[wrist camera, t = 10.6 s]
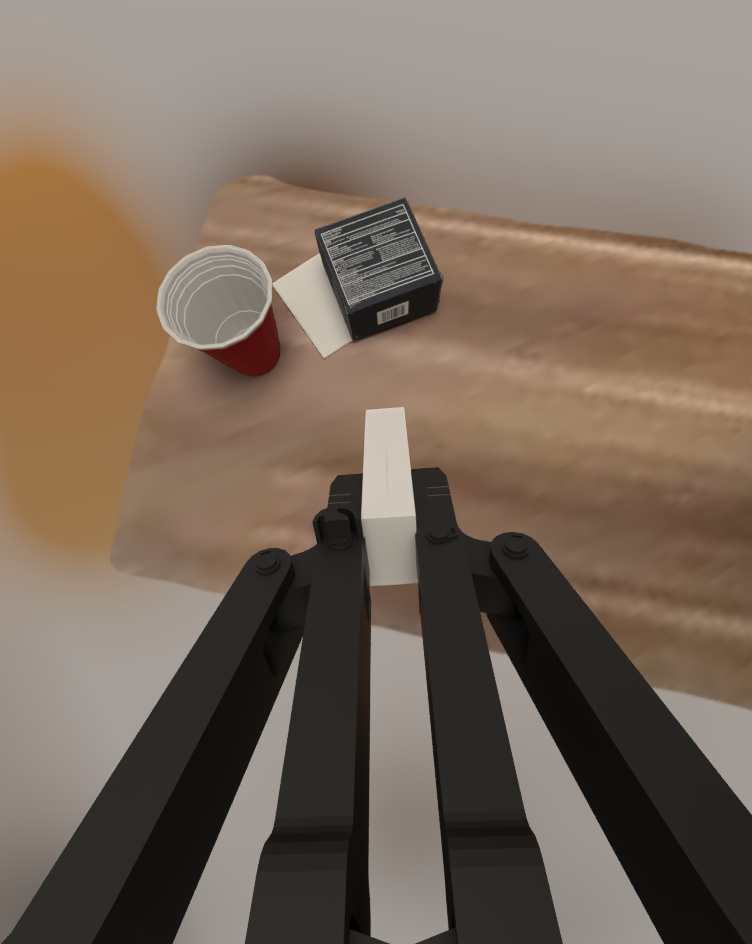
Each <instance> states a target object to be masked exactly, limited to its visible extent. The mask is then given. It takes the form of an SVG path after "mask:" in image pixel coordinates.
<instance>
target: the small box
mask: <svg viewBox="0 0 752 944" xmlns="http://www.w3.org/2000/svg"><path fill="white" fill-rule="evenodd" d="M315 236H316V240H317V244H318V248H319V252H320V256H321V260H322V263H323V266H324V269H325V272H326V274H327V276H328V279H329V282H330V284H331V287H332V290H333V292H334V295H335V297H336V300H337V302H338V305H339V307H340V310H341V313H342V315H343V318H344V320H345V323H346V325H347V328H348V330H349V333H350V336H351V339H352V341H355V340H357V339H360V338H362V337H365V336H368V335H370V334H373V333H376V332H378V331H381V330H384V329H387V328H389V327H392V326H395V325H397V324H400V323H403V322H406V321H408V320H411V319H414V318H417V317H419V316H422V315H425V314H427V313H430V312H433V311H436V310H437V308H438V304H439V301H440V300H439V298H440V292H441V287H442V282H443V276H442V275H441V273H440V272H439V270H438V268H437V266H436V264H435V261H434V259H433V257H432V255H431V252H430V250H429V248H428V245H427V243H426V241H425V239H424V237H423V235H422V232H421V230H420V228H419V226H418V223H417V221H416V219H415V217H414V215H413V213H412V210H411V208H410V205H409V202H408V200H407V198H402V199H399V200H396V201H393V202H391V203H388V204H385V205H382V206H379V207H377V208H374V209H371V210H368V211H366V212H363V213H360V214H357V215H354V216H352V217H349V218H346V219H343V220H340V221H338V222H335V223H332V224H329V225H326V226H324V227H321V228H318V229H315Z"/></svg>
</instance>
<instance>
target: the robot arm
mask: <svg viewBox="0 0 752 944" xmlns="http://www.w3.org/2000/svg"><path fill="white" fill-rule="evenodd" d="M313 527H314V531H315V536H316V540H317V544H316V545H315V546H314V547H312V548H311V549H309V550H307V551H304V552H302V553H298V554H295V555H292V556H290V554H289V553H287V552H286V551H285V550H282V549H279V548H268V549H265V550H262V551H259V552H258V553H256V554H254V555H253V556H252V557H251V558H250V559H249V560H248V561H247V562H246V564H245V565H244V567H243V568H242V570H241V572H240V573H239V575H238V576H237V578H236V580H235V581H234V583H233V584H232V586H231V587H230V589H229V591H228V592H227V594H226V595H225V597H224V598H223V600H222V602H221V603H220V605H219V606H218V608H217V610H216V611H215V613H214V614H213V616H212V617H211V619H210V620H209V622H208V624H207V625H206V627H205V628H204V630H203V632H202V633H201V635H200V636H199V638H198V639H197V641H196V643H195V644H194V646H193V647H192V649H191V650H190V652H189V654H188V655H187V657H186V658H185V660H184V662H183V663H182V665H181V666H180V668H179V669H178V671H177V673H176V674H175V676H174V677H173V679H172V680H171V682H170V683H169V685H168V687H167V688H166V690H165V692H164V693H163V694H162V696H161V698H160V699H159V701H158V702H157V704H156V706H155V707H154V709H153V710H152V712H151V713H150V715H149V717H148V718H147V720H146V721H145V723H144V724H143V726H142V728H141V729H140V731H139V732H138V734H137V735H136V737H135V739H134V740H133V742H132V743H131V745H130V747H129V748H128V750H127V751H126V753H125V754H124V756H123V758H122V759H121V761H120V762H119V764H118V765H117V767H116V769H115V770H114V772H113V773H112V775H111V777H110V778H109V780H108V781H107V783H106V784H105V786H104V788H103V789H102V791H101V792H100V794H99V795H98V797H97V798H96V800H95V802H94V803H93V805H92V806H91V808H90V810H89V811H88V813H87V814H86V816H85V817H84V819H83V821H82V822H81V824H80V825H79V827H78V828H77V830H76V832H75V833H74V835H73V836H72V838H71V839H70V841H69V843H68V844H67V846H66V848H65V849H64V851H63V852H62V854H61V855H60V857H59V858H58V860H57V861H56V863H55V865H54V866H53V868H52V870H51V871H50V873H49V874H48V876H47V877H46V879H45V880H44V882H43V884H42V885H41V887H40V888H39V890H38V891H37V893H36V895H35V896H34V898H33V899H32V901H31V902H30V904H29V906H28V907H27V909H26V910H25V912H24V913H23V915H22V917H21V918H20V920H19V922H18V923H17V924H16V926H15V928H14V929H13V931H12V933H11V934H10V935H9V936H8V937H7V938H6V939H5V940H4V941H3V942H2V943H1V944H173V941H174V939H175V937H176V934H177V932H178V929H179V927H180V925H181V922H182V920H183V918H184V915H185V913H186V910H187V908H188V906H189V904H190V901H191V899H192V896H193V894H194V892H195V889H196V887H197V885H198V882H199V880H200V878H201V875H202V873H203V871H204V868H205V866H206V863H207V861H208V859H209V856H210V854H211V852H212V849H213V847H214V845H215V842H216V840H217V838H218V835H219V833H220V830H221V828H222V825H223V823H224V821H225V819H226V816H227V814H228V811H229V809H230V807H231V804H232V802H233V800H234V797H235V795H236V793H237V790H238V788H239V786H240V783H241V781H242V779H243V776H244V774H245V771H246V769H247V767H248V764H249V762H250V759H251V757H252V755H253V752H254V750H255V748H256V745H257V743H258V740H259V738H260V736H261V734H262V731H263V729H264V727H265V724H266V722H267V720H268V717H269V715H270V712H271V710H272V708H273V705H274V703H275V701H276V698H277V696H278V694H279V691H280V689H281V686H282V684H283V682H284V679H285V677H286V675H287V672H288V670H289V668H290V665H291V663H292V660H293V658H294V656H295V653H296V651H297V649H298V646H299V644H300V642H301V639H302V637H303V640H302V647H301V653H300V660H299V666H298V673H297V679H296V686H295V692H294V699H293V705H292V712H291V719H290V725H289V732H288V738H287V745H286V751H285V758H284V765H283V771H282V778H281V784H280V791H279V797H278V805H277V810H276V817H275V822H274V827H273V830H272V833H271V835H270V836H269V838H268V839H267V841H266V842H265V844H264V846H263V849H262V852H261V855H260V860H259V864H258V869H257V874H256V881H255V886H254V892H253V899H252V904H251V910H250V916H249V922H248V928H247V934H246V940H245V944H389V943H386V942H383V941H381V940H378V939H375V938H373V937H371V934H370V933H371V929H370V928H371V923H370V922H371V919H370V918H371V917H370V895H369V879H368V878H369V877H368V855H369V852H368V851H369V846H368V845H369V758H370V656H371V655H370V653H371V652H370V651H371V649H370V648H371V596H370V586H378V585H395V584H413V583H418V589H419V610H420V615H421V626H422V636H423V646H424V658H425V669H426V680H427V691H428V701H429V712H430V723H431V734H432V745H433V756H434V766H435V777H436V788H437V799H438V810H439V821H440V831H441V842H442V853H443V864H444V874H445V875H444V876H445V887H446V888H445V889H446V903H447V915H448V927H449V930H448V931H445V932H443V933H440V934H438V935H436V936H433V937H431V938H428V939H426V940H424V941H421V942H419V943H416V944H563V943H562V938H561V934H560V930H559V926H558V922H557V917H556V913H555V909H554V904H553V900H552V896H551V892H550V887H549V883H548V879H547V875H546V870H545V866H544V863H543V859H542V855H541V851H540V848H539V845H538V842H537V839H536V837H535V834H534V833H533V831H532V830H531V828H530V827H529V824H528V821H527V818H526V814H525V810H524V806H523V801H522V797H521V792H520V788H519V783H518V779H517V775H516V770H515V766H514V761H513V757H512V752H511V748H510V743H509V739H508V735H507V730H506V726H505V722H504V717H503V713H502V708H501V704H500V699H499V694H498V690H497V686H496V681H495V677H494V672H493V668H492V663H491V659H490V654H489V650H488V645H487V641H486V637H485V632H484V628H483V623H482V619H481V614H480V612H484V613H486V614H487V617H488V619H489V621H490V623H491V625H492V627H493V628H494V630H495V632H496V634H497V636H498V638H499V640H500V641H501V643H502V645H503V647H504V649H505V651H506V653H507V654H508V656H509V658H510V660H511V662H512V664H513V665H514V667H515V669H516V671H517V673H518V675H519V676H520V678H521V680H522V682H523V684H524V686H525V687H526V689H527V691H528V693H529V695H530V697H531V699H532V701H533V702H534V704H535V706H536V708H537V709H538V712H539V714H540V715H541V717H542V719H543V721H544V723H545V725H546V726H547V728H548V730H549V732H550V734H551V736H552V738H553V739H554V741H555V743H556V745H557V747H558V749H559V750H560V752H561V754H562V756H563V758H564V760H565V762H566V763H567V765H568V767H569V769H570V771H571V773H572V775H573V776H574V778H575V780H576V782H577V784H578V786H579V788H580V789H581V791H582V793H583V795H584V797H585V799H586V800H587V802H588V804H589V806H590V808H591V810H592V812H593V813H594V815H595V817H596V819H597V821H598V823H599V824H600V826H601V828H602V830H603V832H604V834H605V836H606V837H607V839H608V841H609V843H610V845H611V847H612V848H613V850H614V852H615V854H616V856H617V858H618V860H619V861H620V863H621V865H622V867H623V869H624V871H625V872H626V874H627V876H628V878H629V880H630V882H631V884H632V885H633V887H634V889H635V891H636V893H637V895H638V896H639V898H640V900H641V902H642V904H643V906H644V908H645V909H646V911H647V913H648V915H649V917H650V919H651V921H652V922H653V924H654V926H655V928H656V930H657V932H658V933H659V935H660V937H661V939H662V941H663V943H664V944H752V815H751V814H750V812H749V811H748V810H747V808H746V807H745V806H744V805H743V803H742V802H741V801H740V800H739V798H738V797H737V796H736V795H735V793H734V792H733V791H732V790H731V788H730V787H729V786H728V784H727V783H726V782H725V781H724V779H723V778H722V777H721V775H720V774H719V773H718V772H717V770H716V769H715V768H714V767H713V765H712V764H711V763H710V762H709V760H708V759H707V758H706V756H705V755H704V754H703V753H702V751H701V750H700V749H699V747H698V746H697V745H696V744H695V742H694V741H693V740H692V739H691V737H690V736H689V735H688V733H687V732H686V731H685V730H684V728H683V727H682V726H681V725H680V723H679V722H678V721H677V720H676V718H675V717H674V716H673V714H672V713H671V712H670V711H669V709H668V708H667V707H666V705H665V704H664V703H663V702H662V700H661V699H660V698H659V697H658V695H657V694H656V693H655V691H654V690H653V689H652V688H651V686H650V685H649V684H648V683H647V681H646V680H645V679H644V678H643V676H642V675H641V674H640V672H639V671H638V670H637V669H636V667H635V666H634V665H633V664H632V662H631V661H630V660H629V658H628V657H627V656H626V655H625V653H624V652H623V651H622V650H621V648H620V647H619V646H618V644H617V643H616V642H615V641H614V639H613V638H612V637H611V636H610V634H609V633H608V632H607V630H606V629H605V628H604V627H603V625H602V624H601V623H600V622H599V620H598V619H597V618H596V616H595V615H594V614H593V613H592V611H591V610H590V609H589V608H588V606H587V605H586V604H585V602H584V601H583V600H582V599H581V597H580V596H579V595H578V594H577V592H576V591H575V590H574V588H573V587H572V586H571V585H570V583H569V582H568V581H567V580H566V578H565V577H564V576H563V575H562V573H561V572H560V571H559V569H558V568H557V567H556V566H555V564H554V563H553V562H552V561H551V559H550V558H549V557H548V555H547V554H546V553H545V552H544V550H543V549H542V548H541V547H540V545H539V544H538V543H537V542H536V541H535V540H534V539H532V538H531V537H529V536H527V535H525V534H522V533H516V532H509V533H503V534H500V535H498V536H496V537H495V538H494V539H493V540H492V542H487V541H481V540H477V539H473V538H471V537H469V536H467V535H466V534H464V533H463V532H462V531H461V530H460V528H458V525H457V522H456V518H455V513H454V509H453V504H452V500H451V495H450V491H449V487H448V481H447V477H446V475H445V474H444V473H443V472H442V471H441V470H440V469H439V468H438V467H436V468H421V469H411V468H410V459H409V450H408V441H407V432H406V422H405V413H404V407H397V408H385V409H372V410H366V421H365V443H364V466H363V474H349V475H338V476H337V477H336V478H335V480H334V481H333V482H332V484H331V486H330V493H329V500H328V507H327V508H326V509H324V510H321V511H320V512H319V513H318V514H317V515H316V516H315V518H314V520H313Z"/></svg>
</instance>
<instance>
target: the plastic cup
mask: <svg viewBox="0 0 752 944" xmlns="http://www.w3.org/2000/svg"><path fill="white" fill-rule="evenodd" d="M158 291H159V292H158V300H157V313H158V315H159V318H160V321H161V324H162V326H163V328H164V330H165V331H167V332H168V333H169V334H170V335H171V336H172V337H173V338H174V339H175V340H176V341H177V342H179V343H181V344H184V345H187V346H190V347H193V348H196V349H198V350H200V351H203V352H205V353H207V354H208V355H210V356H212V357H213V358H215V359H217V360H218V361H220V362H222V363H223V364H225V365H226V366H228V367H231V368H233V369H235V370H236V371H238V372H240V373H243V374H246V375H250V376H258V375H262V374H265V373H267V372H269V371H270V370H271V369H272V368H273V367H274V366H275V365H276V364H277V361H278V359H279V356H280V343H279V339H278V331H277V327H276V323H275V318H274V314H273V310H272V279H271V277H270V275H269V272H268V270H267V268H266V266H265V264H264V262H263V261H261V260H260V259H259V258H258V257H256V256H255V255H254V254H253V253H251V252H250V251H249V250H246V249H242V248H238V247H234V246H231V245H221V246H211V247H205V248H203V249H200V250H198V251H196V252H194V253H191V254H189V255H187V256H185V257H184V258H183V259H182V260H181V261H179V262H178V263H177V264H176V265H175V266H174V267H173V268H172V269H171V270H169V272H168V273H167V275H166V277H165V279H164V281H163V283H162V285H161V287H160V288H159V290H158Z"/></svg>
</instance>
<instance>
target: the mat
mask: <svg viewBox="0 0 752 944" xmlns="http://www.w3.org/2000/svg"><path fill="white" fill-rule="evenodd" d="M272 285H273V287H274V288H275V290H276V291H277V292H278V294H279V295H280V297H281V298H282V300H283V301H284V302H285V304H286V305H287V307H288V308H289V310H290V311H291V312H292V314H293V315H294V317H295V318H296V320H297V321H298V322H299V324H300V325H301V327H302V328H303V330H304V331H305V332H306V334H307V335H308V337H309V338H310V340H311V341H312V342H313V344H314V345H315V347H316V348H317V350H318V351H319V352H320V354H321V355H322V357H323V358H324V359H326V358H327V357H329V356H330V355H332V354H333V353H335V352H336V351H338V350H339V349H341V348H342V347H344V346H345V345H347V344H349V343H350V342H352V339H351V336H350V333H349V330H348V328H347V325H346V323H345V320H344V318H343V315H342V313H341V310H340V307H339V305H338V302H337V300H336V297H335V295H334V292H333V290H332V287H331V284H330V282H329V279H328V276H327V274H326V272H325V269H324V266H323V263H322V260H321V256H320V253H319V254H317V255H316V256H314V257H313V258H311V259H310V260H308V261H307V262H305V263H303V264H302V265H300V266H299V267H297V268H296V269H294V270H293V271H291V272H289V273H288V274H286V275H285V276H283V277H282V278H280V279H278V280H277V281H275V282H274V283H272Z"/></svg>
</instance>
